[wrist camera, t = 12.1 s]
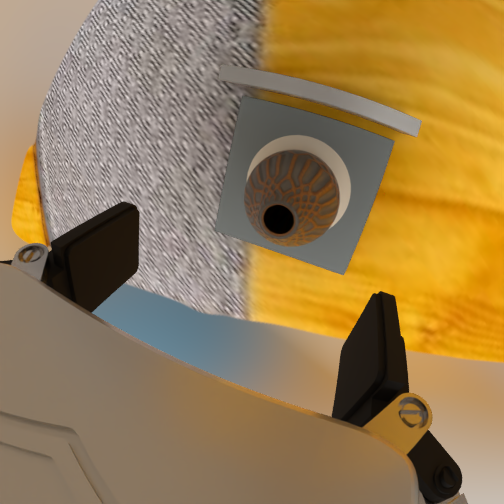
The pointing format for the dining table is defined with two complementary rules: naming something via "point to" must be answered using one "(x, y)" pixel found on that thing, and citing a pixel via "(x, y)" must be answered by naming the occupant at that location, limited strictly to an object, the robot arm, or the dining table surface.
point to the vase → (291, 198)
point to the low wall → (321, 96)
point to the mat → (323, 146)
